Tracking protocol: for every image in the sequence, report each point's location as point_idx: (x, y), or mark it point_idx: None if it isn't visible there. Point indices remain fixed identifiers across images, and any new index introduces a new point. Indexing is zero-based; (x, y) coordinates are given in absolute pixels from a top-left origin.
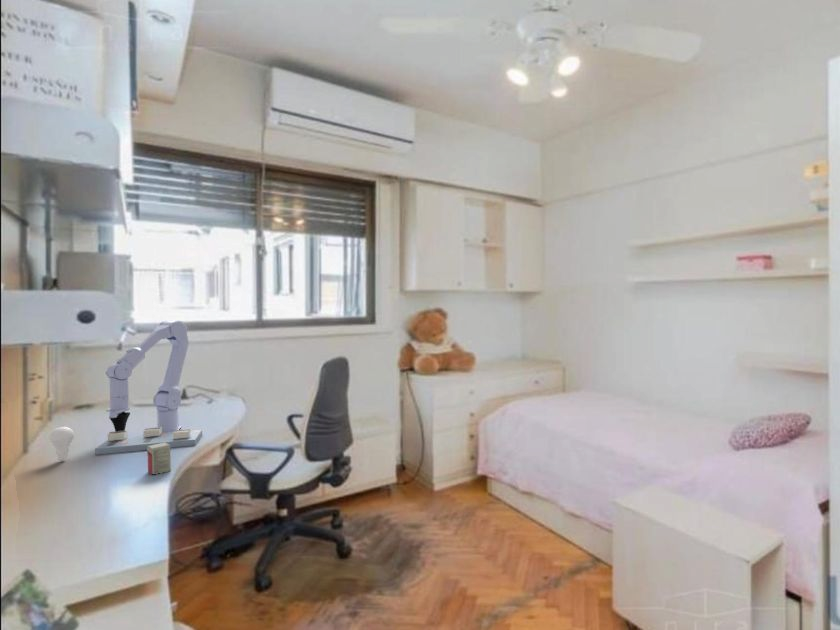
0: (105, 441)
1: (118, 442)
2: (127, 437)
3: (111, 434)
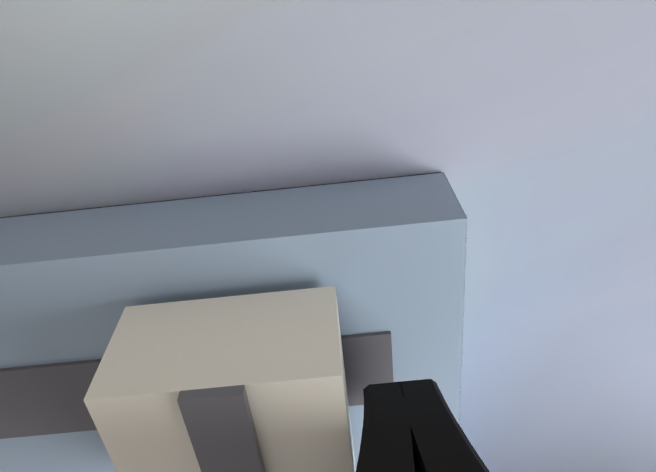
0: (155, 254)
1: (71, 446)
2: (356, 445)
3: (110, 444)
